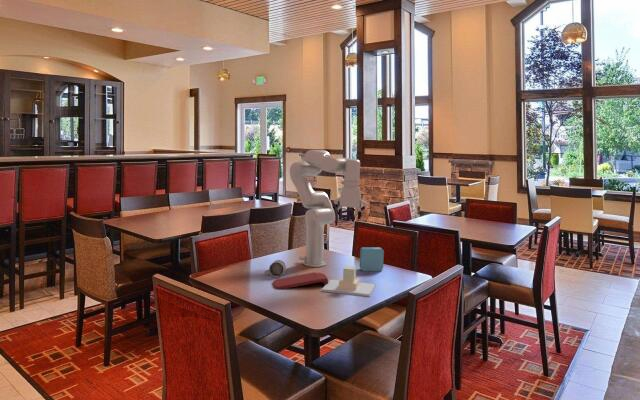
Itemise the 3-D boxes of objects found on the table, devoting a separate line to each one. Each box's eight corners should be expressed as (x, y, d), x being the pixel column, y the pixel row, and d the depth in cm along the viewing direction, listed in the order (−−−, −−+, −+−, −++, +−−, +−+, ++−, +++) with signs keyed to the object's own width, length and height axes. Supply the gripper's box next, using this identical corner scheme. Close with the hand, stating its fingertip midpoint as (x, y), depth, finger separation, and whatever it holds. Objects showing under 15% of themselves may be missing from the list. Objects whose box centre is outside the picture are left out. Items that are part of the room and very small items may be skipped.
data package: (381, 268, 252) (381, 247, 251) (383, 271, 248) (384, 249, 246) (359, 268, 251) (360, 247, 249) (361, 271, 246) (361, 249, 245)
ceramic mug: (286, 273, 239) (286, 258, 238) (284, 277, 231) (283, 262, 230) (265, 272, 240) (265, 258, 239) (263, 276, 231) (262, 261, 231)
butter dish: (321, 291, 210) (322, 282, 210) (330, 281, 225) (330, 273, 225) (369, 296, 204) (369, 287, 204) (375, 286, 219) (375, 278, 219)
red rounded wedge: (276, 297, 212) (329, 287, 216) (275, 287, 211) (328, 277, 216) (274, 289, 224) (324, 280, 228) (272, 279, 223) (322, 270, 228)
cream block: (342, 281, 213) (343, 268, 212) (345, 278, 217) (345, 265, 217) (353, 282, 211) (354, 269, 211) (355, 279, 216) (356, 266, 215)
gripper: (332, 183, 229) (330, 217, 231) (367, 186, 223) (364, 221, 226) (336, 182, 236) (335, 215, 238) (370, 184, 231) (367, 218, 233)
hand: (349, 218), depth 232 cm, fingers open, 9 cm apart
